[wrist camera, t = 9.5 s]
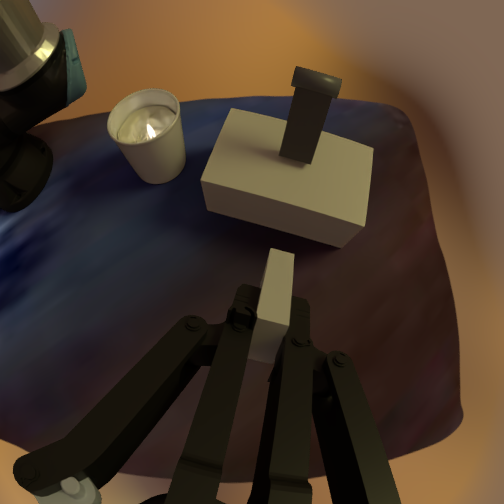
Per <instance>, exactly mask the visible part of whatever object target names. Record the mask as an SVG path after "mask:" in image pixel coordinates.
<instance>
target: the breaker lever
mask: <svg viewBox="0 0 504 504" xmlns="http://www.w3.org/2000/svg"><path fill="white" fill-rule="evenodd" d="M341 83H342V79H340V78H337V77H334V76H330V75H327V74H324V73H320V72H317V71H313V70H310V69H306V68H302V67H298V66H296V68H295V71H294V75H293V79H292V83H291V86H293V87H296V88H295V91H294V96H293V100H292V104H291V108H290V112H289V116H288V120H287V124H286V128H285V132H284V136H283V140H282V144H281V148H280V152H279V156H282V157H286V158H289V159H293V160H296V161H300V162H303V163H307V164H310V165H311V163H312V160H313V157H314V154H315V150H316V147H317V144H318V141H319V138H320V135H321V132H322V128H323V125H324V122H325V119H326V116H327V112H328V109H329V106H330V103H331V100H332V98H335V99H337V97H338V94H339V91H340V87H341Z"/></svg>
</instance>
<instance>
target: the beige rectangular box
mask: <svg viewBox="0 0 504 504" xmlns="http://www.w3.org/2000/svg"><path fill="white" fill-rule="evenodd" d="M286 124H287V121H285V120H281V119H277V118H273V117H269V116H265V115H261V114H256V113H252V112H248V111H243V110H238V109H234V108H231V110H230V112H229V114H228V117H227V119H226V121H225V123H224V125H223V128H222V130H221V132H220V135H219V137H218V139H217V141H216V144H215V146H214V148H213V151H212V153H211V156H210V158H209V160H208V163H207V165H206V168H205V170H204V172H203V175H202V177H201V180H200V181H201V185H202V190H203V194H204V198H205V203H206V207H207V210H208V211H211V212H215V213H219V214H223V215H226V216H230V217H234V218H237V219H241V220H245V221H248V222H252V223H255V224H259V225H263V226H266V227H270V228H273V229H277V230H280V231H284V232H287V233H291V234H294V235H298V236H301V237H305V238H308V239H312V240H315V241H318V242H322V243H325V244H329V245H332V246H335V247H339V248H342V247H343V246H344V245H345V244H346V243H348V242H349V241H350V240H351V239H352V238H353V237H354V236H355V235H356V234H357V233H358V232H359V231H360V230H362V229H363V228H364V227H365V220H366V213H367V205H368V197H369V188H370V179H371V169H372V158H373V148H371V147H368V146H365V145H363V144H360V143H357V142H354V141H351V140H348V139H345V138H342V137H339V136H336V135H333V134H330V133H327V132H323V131H322V132H321V135H320V138H319V141H318V144H317V147H316V150H315V154H314V157H313V160H312V163H311V165H310V164H307V163H303V162H300V161H296V160H293V159H289V158H286V157H282V156H279V152H280V148H281V144H282V140H283V136H284V132H285V128H286Z"/></svg>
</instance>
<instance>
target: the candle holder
mask: <svg viewBox="0 0 504 504" xmlns="http://www.w3.org/2000/svg"><path fill="white" fill-rule="evenodd" d="M107 130H108V133H109V135H110V137H111V138H112V139H113V140H114V142H115V143H116V144H117V146H118V147H119V149H120V150H121V152H122V153H123V155H124V156H125V158H126V159H127V160H128V162H129V163H130V165H131V166H132V168H133V169H134V170H135V172H136V173H137V174H138V176H139V177H140V178H141V179H142V180H144V181H145V182H147V183H151V184H162V183H166V182H169V181H171V180H172V179H174V178H175V177H177V176H178V175H179V174H180V173H181V171H182V170H183V168H184V166H185V162H186V152H185V145H184V138H183V131H182V124H181V117H180V105H179V102H178V100H177V98H176V97H175V96H174V95H173V94H172V93H170V92H168V91H166V90H163V89H144V90H140V91H137V92H135V93H132V94H130V95H129V96H127V97H125V98H124V99H123V100H121V101H120V102H119V103H118V104H117V105H116V106H115V107H114V109H113V110H112V111H111V113H110V115H109V118H108V121H107Z"/></svg>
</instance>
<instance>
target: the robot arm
mask: <svg viewBox="0 0 504 504" xmlns="http://www.w3.org/2000/svg"><path fill="white" fill-rule="evenodd" d="M86 88H87V85H86V81H85V77H84V73H83V70H82V66H81V62H80V59H79V55H78V51H77V47H76V43H75V39H74V36H73V32H72V30H71V29H66V30H62V31H61V32H59V30H58V28H57V27H56V26H55V25H54V24H52V23H48V22H44V23H41V22H40V20H39V18H38V16H37V14H36V13H35V11H34V9H33V7H32V5H31V3H30V2H29V0H0V208H1V209H3V210H4V211H6V212H16V211H19V210H21V209H23V208H25V207H26V206H28V205H29V204H30V203H31V202H32V201H33V200H34V199H35V198H36V197H37V196H38V195H39V194H40V192H41V191H42V189H43V188H44V186H45V184H46V182H47V180H48V178H49V176H50V173H51V170H52V165H53V155H52V151H51V149H50V148H49V146H48V145H47V144H46V143H45V142H44V141H43V140H42V139H40V138H38V137H36V136H34V135H32V134H29V133H27V132H26V131H28V130H29V129H31V128H32V127H34V126H35V125H37V124H38V123H40V122H42V121H43V120H45V119H46V118H48V117H50V116H51V115H53V114H55V113H57V112H58V111H60V110H62V109H64V108H66V107H68V106H69V104H71V103H72V102H74V101H75V100H77V99H79V98H80V97H82V96H83V95H84V93H85V92H86ZM293 268H294V254H291V253H288V252H284V251H280V250H277V249H273V248H271V249H270V252H269V256H268V259H267V263H266V266H265V270H264V273H263V277H262V280H261V284H260V288H258V287H254V286H251V285H247V284H242V285H241V286H240V287H239V288H238V289H237V292H236V295H235V298H234V301H233V304H232V306H231V307H230V308H229V309H228V313H227V318H226V321H225V322H223V323H221V324H215V325H211V324H207V323H206V321H205V320H204V319H202V318H201V317H198V316H195V315H188V316H184V317H183V318H181V319H180V320H179V321H178V322H177V323H176V324H175V325H174V326H173V327H172V328H171V329H170V330H169V331H168V332H167V333H166V334H165V335H164V336H163V337H162V338H161V339H160V340H159V342H158V343H157V344H156V345H155V346H154V347H153V348H152V349H151V350H150V351H149V352H148V353H147V354H146V355H145V356H144V357H143V358H142V359H141V360H140V361H139V362H138V363H137V364H136V365H135V366H134V367H133V368H132V369H131V370H130V371H129V372H128V373H127V374H126V375H125V376H124V377H123V378H122V379H121V380H120V381H119V382H118V383H117V384H116V385H115V386H114V387H113V388H112V389H111V391H110V392H109V393H108V394H107V395H106V396H105V397H104V398H103V399H102V400H101V401H100V402H99V403H98V404H97V405H96V406H95V407H94V408H93V409H92V410H91V411H90V412H89V413H88V414H87V415H86V416H85V417H84V418H83V419H82V420H81V421H80V422H79V423H78V424H77V425H76V426H75V427H74V428H73V429H72V431H71V432H70V433H69V434H68V435H67V436H66V437H65V438H63V439H61V440H59V441H57V442H54V443H52V444H50V445H47V446H45V447H43V448H40V449H38V450H36V451H33V452H31V453H28V454H26V455H24V456H21V457H20V458H18V459H17V460H16V462H15V463H14V466H13V474H14V477H15V480H16V481H17V482H18V484H19V485H20V486H21V487H23V488H24V489H26V490H27V491H29V492H30V493H31V494H33V495H34V496H35V498H36V499H37V501H38V503H39V504H101V500H102V498H101V494H100V492H99V491H98V490H99V489H100V488H101V487H103V486H104V485H105V484H106V483H108V482H109V481H110V480H111V479H112V478H113V477H114V476H115V475H116V474H117V472H118V471H119V470H120V469H121V468H122V466H123V465H124V464H125V463H126V461H127V460H128V459H129V458H130V456H131V455H132V454H133V453H134V452H135V450H136V449H137V448H138V447H139V445H140V444H141V443H142V442H143V440H144V439H145V438H146V437H147V435H148V434H149V433H150V432H151V430H152V429H153V428H154V427H155V425H156V424H157V423H158V421H159V420H160V419H161V418H162V416H163V415H164V414H165V413H166V411H167V410H168V409H169V407H170V406H171V405H172V404H173V402H174V401H175V400H176V399H177V397H178V396H179V395H180V393H181V392H182V391H183V389H184V388H185V387H186V386H187V384H188V383H189V382H190V380H191V379H192V378H193V376H194V375H195V374H196V373H197V371H198V370H199V369H200V367H201V366H211V368H210V371H209V374H208V377H207V380H206V383H205V386H204V389H203V392H202V395H201V398H200V401H199V404H198V407H197V410H196V413H195V416H194V419H193V422H192V425H191V428H190V431H189V434H188V437H187V440H186V443H185V446H184V449H183V452H182V455H181V457H180V459H179V461H178V464H177V466H176V469H175V472H174V475H173V478H172V482H171V485H170V488H169V491H168V493H166V494H161V495H157V496H154V497H151V498H149V499H147V500H145V501H144V502H142V503H140V504H225V503H223V502H221V501H219V500H217V499H216V495H217V492H218V487H219V483H220V479H221V475H222V466H223V462H224V457H225V453H226V449H227V445H228V441H229V436H230V432H231V428H232V424H233V419H234V415H235V411H236V406H237V402H238V398H239V393H240V389H241V385H242V380H243V376H244V371H245V367H246V362H247V358H249V359H253V360H257V361H261V362H265V363H269V364H273V363H274V360H275V364H274V368H273V370H272V372H271V374H270V377H269V379H268V381H267V382H270V385H269V391H268V398H267V404H266V410H265V416H264V422H263V429H262V434H261V440H260V446H259V452H258V458H257V463H256V469H255V474H254V480H253V485H252V490H251V494H250V497H249V499H248V502H247V504H312V486H311V484H310V483H308V467H309V453H310V436H311V416H312V415H313V419H314V423H315V428H316V432H317V436H318V441H319V445H320V449H321V454H322V458H323V463H324V467H325V471H326V476H327V481H328V485H329V489H330V494H331V499H332V503H333V504H401V501H400V498H399V494H398V491H397V488H396V484H395V481H394V478H393V475H392V472H391V468H390V466H389V462H388V459H387V456H386V453H385V450H384V447H383V444H382V441H381V438H380V436H379V433H378V430H377V427H376V424H375V421H374V418H373V416H372V413H371V410H370V407H369V404H368V402H367V399H366V396H365V394H364V391H363V388H362V385H361V383H360V380H359V378H358V375H357V372H356V370H355V367H354V364H353V362H352V360H351V358H350V357H349V356H348V355H347V354H345V353H343V352H341V351H332V352H330V353H329V354H326V353H324V352H322V351H320V350H318V349H317V348H315V347H314V346H313V342H312V340H311V339H310V306H309V304H308V302H307V300H306V299H303V298H299V297H295V296H291V295H292V282H293Z"/></svg>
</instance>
